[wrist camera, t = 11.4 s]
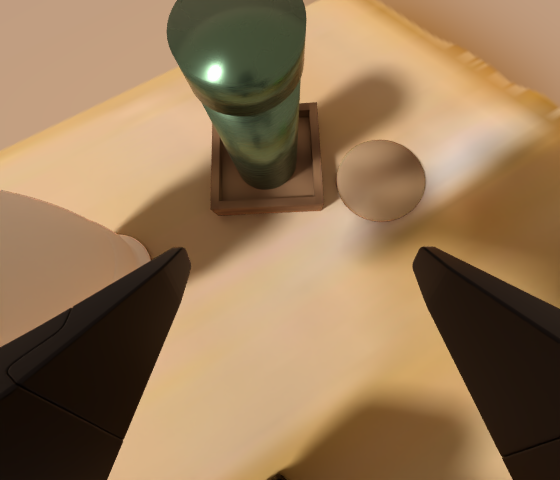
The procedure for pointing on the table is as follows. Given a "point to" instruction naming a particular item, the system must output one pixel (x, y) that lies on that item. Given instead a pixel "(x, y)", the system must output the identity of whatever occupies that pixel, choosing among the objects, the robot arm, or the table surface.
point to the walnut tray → (286, 198)
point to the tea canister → (246, 77)
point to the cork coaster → (380, 180)
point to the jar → (54, 261)
